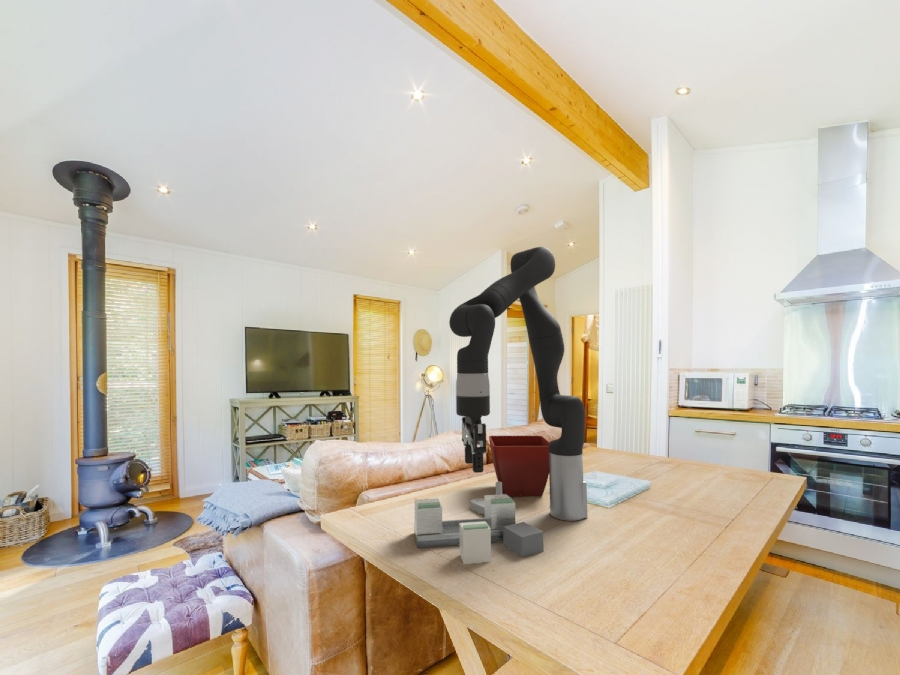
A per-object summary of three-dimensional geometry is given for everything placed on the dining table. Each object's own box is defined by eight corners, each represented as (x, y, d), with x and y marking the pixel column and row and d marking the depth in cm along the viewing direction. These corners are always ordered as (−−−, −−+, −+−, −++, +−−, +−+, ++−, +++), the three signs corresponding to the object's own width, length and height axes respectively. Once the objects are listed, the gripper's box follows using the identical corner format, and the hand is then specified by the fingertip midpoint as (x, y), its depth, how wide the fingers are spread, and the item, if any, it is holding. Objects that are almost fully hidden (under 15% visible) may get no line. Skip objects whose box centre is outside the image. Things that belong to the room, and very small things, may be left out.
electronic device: (480, 472, 129) (512, 482, 116) (482, 505, 128) (513, 519, 115) (466, 475, 126) (496, 485, 114) (467, 509, 125) (498, 523, 113)
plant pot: (555, 500, 131) (554, 445, 132) (494, 500, 131) (493, 445, 132) (543, 483, 150) (541, 435, 151) (489, 483, 150) (488, 435, 151)
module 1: (485, 553, 95) (485, 519, 95) (491, 562, 90) (490, 526, 91) (459, 555, 94) (459, 521, 94) (463, 564, 89) (463, 528, 90)
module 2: (524, 541, 101) (523, 521, 102) (543, 552, 95) (543, 531, 96) (503, 546, 99) (503, 526, 99) (522, 558, 92) (521, 537, 93)
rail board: (506, 526, 110) (505, 490, 111) (517, 540, 101) (516, 501, 102) (414, 532, 106) (414, 496, 107) (417, 548, 98) (417, 507, 98)
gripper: (497, 395, 88) (498, 474, 87) (481, 391, 102) (482, 459, 101) (462, 396, 87) (463, 476, 86) (451, 392, 101) (451, 461, 100)
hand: (473, 467), depth 93 cm, fingers open, 8 cm apart
